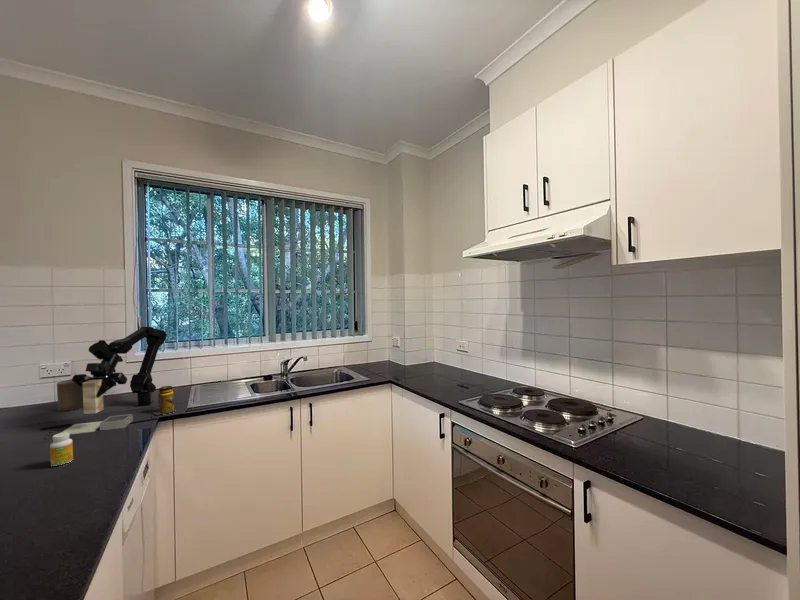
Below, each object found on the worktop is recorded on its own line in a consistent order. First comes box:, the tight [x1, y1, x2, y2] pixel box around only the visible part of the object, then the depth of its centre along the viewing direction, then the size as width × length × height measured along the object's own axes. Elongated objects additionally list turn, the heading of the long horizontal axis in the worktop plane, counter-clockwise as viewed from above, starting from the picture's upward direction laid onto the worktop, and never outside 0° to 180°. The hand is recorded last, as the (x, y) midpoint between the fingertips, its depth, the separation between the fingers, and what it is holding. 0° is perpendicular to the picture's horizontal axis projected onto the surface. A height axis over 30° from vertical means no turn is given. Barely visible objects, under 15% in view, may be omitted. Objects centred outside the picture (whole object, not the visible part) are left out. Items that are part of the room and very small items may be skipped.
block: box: [82, 380, 105, 415], centre depth 145 cm, size 4×4×13 cm
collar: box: [99, 413, 134, 431], centre depth 148 cm, size 8×8×3 cm
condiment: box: [158, 385, 175, 413], centre depth 164 cm, size 7×8×12 cm
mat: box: [60, 420, 103, 436], centre depth 145 cm, size 12×12×1 cm
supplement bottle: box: [49, 432, 74, 467], centre depth 115 cm, size 5×5×10 cm
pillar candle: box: [56, 377, 84, 412], centre depth 172 cm, size 10×10×15 cm
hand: (90, 397), depth 144 cm, fingers closed on block, 4 cm apart
